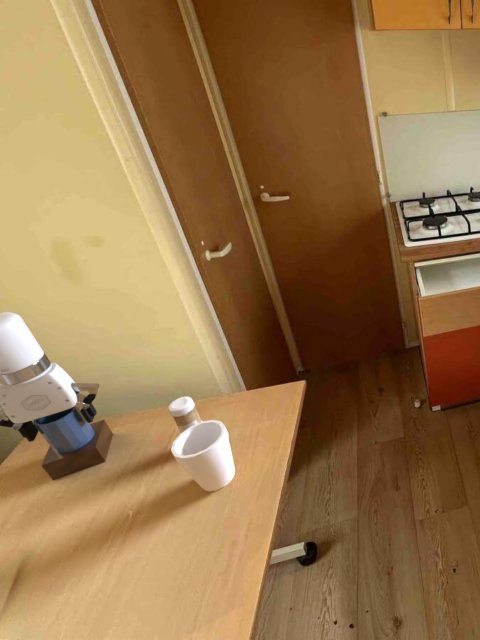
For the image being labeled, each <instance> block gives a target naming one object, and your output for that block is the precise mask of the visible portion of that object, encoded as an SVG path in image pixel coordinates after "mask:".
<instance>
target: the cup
mask: <svg viewBox="0 0 480 640" xmlns="http://www.w3.org/2000/svg"><path fill="white" fill-rule="evenodd" d="M32 422H33V424H34V425H35V426H36V428H37V429H38V433H40V435H42V437H43V439H45V441H46V442H47V444H48V445H49V446H51V448H52V449H53V450H54V451H55V452H56V453H59V454H64V453H69V452H72V451H74V450H77V449H79V448H80V447H82V446H84V445H85V444H86V443H88V442H89V441H90V440H91V439H92V438H93V436H94V433H95V432H94V430H93V428H92V427H91V425H90V424H91V423H88V422H87V421H86V419H85V418H84V416H83V415H82V413H81V408H78V407H72V408H70V409H67V410H65V411H61V412H58V413H55V414H52V415H48V416H45V417H42V418H38V419H35V420H32Z"/></svg>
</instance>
